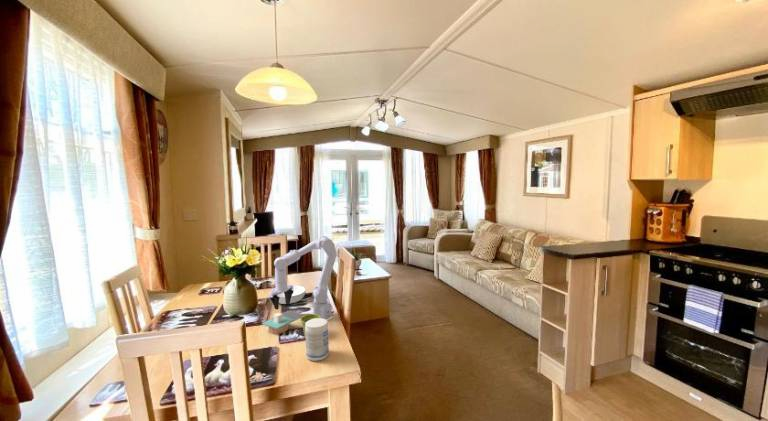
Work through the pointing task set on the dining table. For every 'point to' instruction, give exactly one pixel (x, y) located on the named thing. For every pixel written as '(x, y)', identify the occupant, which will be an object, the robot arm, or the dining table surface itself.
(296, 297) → the serving bowl
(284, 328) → the bowl
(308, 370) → the dining table surface
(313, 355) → the supplement tub
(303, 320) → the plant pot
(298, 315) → the mat
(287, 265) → the robot arm
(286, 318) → the cover sheet
